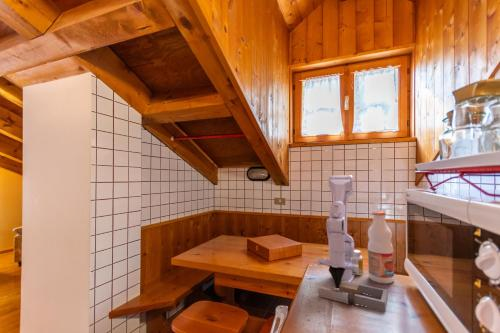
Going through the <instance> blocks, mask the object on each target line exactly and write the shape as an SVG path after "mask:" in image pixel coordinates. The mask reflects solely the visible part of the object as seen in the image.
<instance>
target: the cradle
mask: <svg viewBox="0 0 500 333" xmlns="http://www.w3.org/2000/svg"><path fill="white" fill-rule="evenodd" d="M358 284H359V289H360V293H365V294H368V295H363V294H360V295H358V294H354V301H353V305H355V304H359V305H363V306H367V307H369V308H368V309H371V308H372V309H371V310H375V311H379V312H383V313H386V311H387V310H386V308H387V304H388V299H389V298H388V296H389V295H388V289H385V288H379V287H378V286H377V287H376V286H373V285H372V286H371V285H367V284H361V283H358ZM369 295H371V296H370V297H369ZM373 296H374V297H373ZM359 305H358V306H359ZM363 306H362V307H363ZM367 307H366V308H367Z"/></svg>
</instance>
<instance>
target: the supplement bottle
mask: <svg viewBox="0 0 500 333" xmlns="http://www.w3.org/2000/svg"><path fill="white" fill-rule="evenodd" d="M361 253H362V251H361V250H359V249H354V257H351V259H352V264H356V265H358V269H359V270H358V272H355V271H353V270H352V274H355V276H362V275H364V261H363V260H364V259H363V256H362V255H361Z"/></svg>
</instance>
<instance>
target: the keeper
mask: <svg viewBox="0 0 500 333" xmlns="http://www.w3.org/2000/svg"><path fill="white" fill-rule="evenodd" d="M317 297H320V298H324V299H328V300H333V301H336V302H340V303H344V304H347V305H348V306H349V305H351V306H350V307H353V306H354V301H353V293H352V292H348V293H346V292H341V291H339V290H336V289H333V288H332V289H331V288H329V287H328V288H327V287H323V286H318V287H317ZM352 305H353V306H352Z"/></svg>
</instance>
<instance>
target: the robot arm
mask: <svg viewBox="0 0 500 333" xmlns="http://www.w3.org/2000/svg"><path fill="white" fill-rule="evenodd" d="M328 187H329V190H330V193H331V196H333V201H332V202H331V204H330V206H329V207H330V208H329V215H328V218H327V219H326V223H325V224H326V225H325V226H326V227H325V228H326V233H327V238H328V240H327V241H328V258H320V257H319V258H317V259H316V260H317V263H316V264H317V265H318V266H321V265H322V266H327V267H329V268H328V272H329V273H330V280H333V284H334V288H335V289H338V290H339V285H340V284H341V282H342V281H345V282H350V283H352V281H353V279H354V278H355V276H356V275H355V274H352V270H353V271H355V272H358V270H359V269H358V265H356V264H352V259H351V257H354V250H355V240H354V238H353V237H352V236H351V235H350V234H348V200H349V197H351V196H352V195H353V192H354V177H353V175H352V174H350V175H330V176H328Z"/></svg>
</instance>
